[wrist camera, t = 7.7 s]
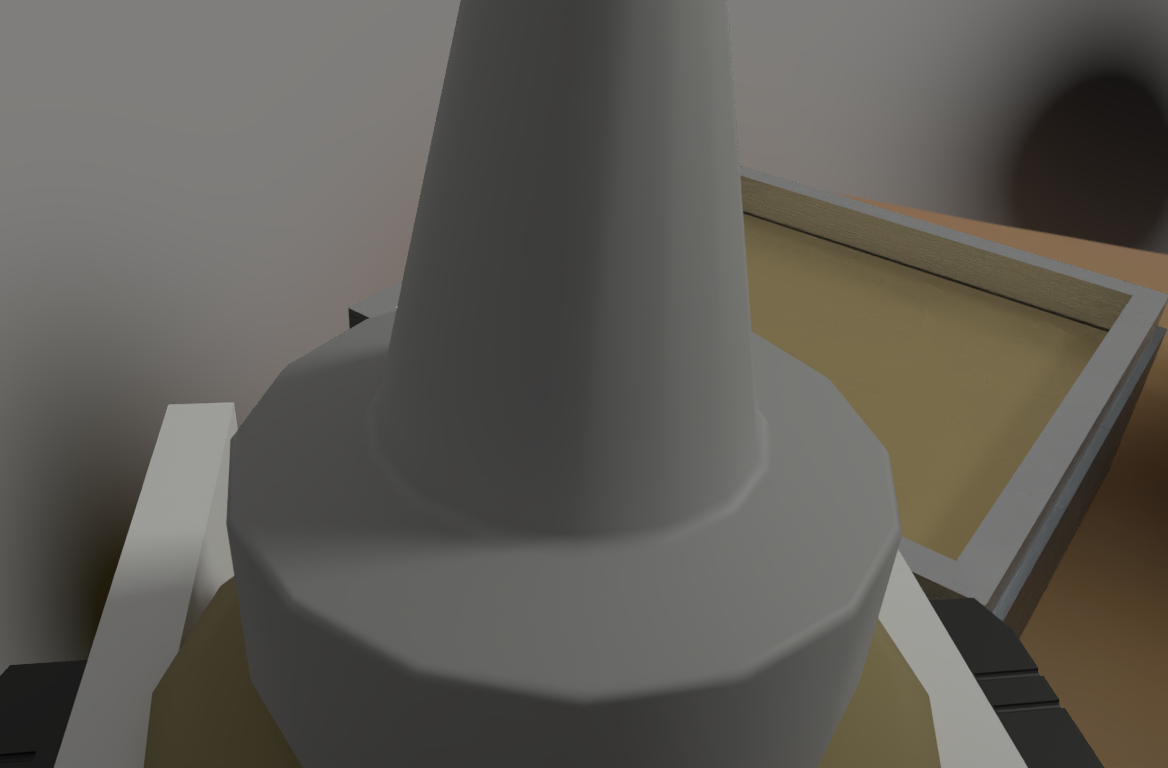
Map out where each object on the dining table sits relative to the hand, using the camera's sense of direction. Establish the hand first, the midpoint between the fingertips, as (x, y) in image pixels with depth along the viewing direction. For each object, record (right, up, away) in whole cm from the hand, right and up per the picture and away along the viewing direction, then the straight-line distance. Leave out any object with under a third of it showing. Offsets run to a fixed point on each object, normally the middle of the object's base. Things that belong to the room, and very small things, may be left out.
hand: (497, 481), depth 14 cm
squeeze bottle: (0, -11, +1) cm, 11 cm away
